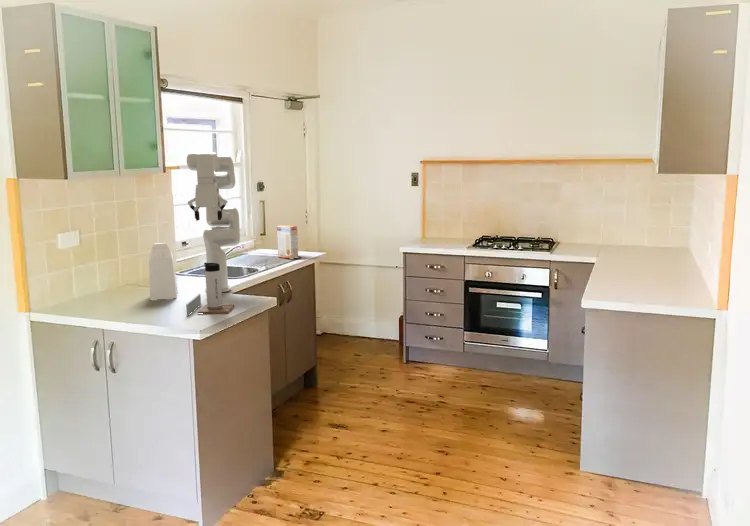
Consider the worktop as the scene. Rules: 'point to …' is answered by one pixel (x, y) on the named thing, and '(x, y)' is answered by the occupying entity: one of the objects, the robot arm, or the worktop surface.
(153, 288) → the milk
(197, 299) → the acrylic wall
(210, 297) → the travel mug
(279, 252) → the cracker box
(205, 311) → the walnut board
